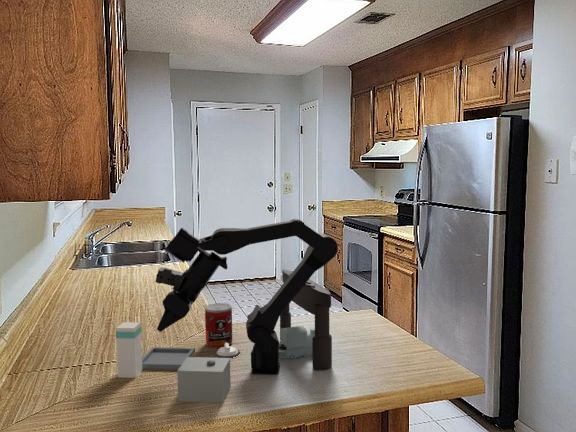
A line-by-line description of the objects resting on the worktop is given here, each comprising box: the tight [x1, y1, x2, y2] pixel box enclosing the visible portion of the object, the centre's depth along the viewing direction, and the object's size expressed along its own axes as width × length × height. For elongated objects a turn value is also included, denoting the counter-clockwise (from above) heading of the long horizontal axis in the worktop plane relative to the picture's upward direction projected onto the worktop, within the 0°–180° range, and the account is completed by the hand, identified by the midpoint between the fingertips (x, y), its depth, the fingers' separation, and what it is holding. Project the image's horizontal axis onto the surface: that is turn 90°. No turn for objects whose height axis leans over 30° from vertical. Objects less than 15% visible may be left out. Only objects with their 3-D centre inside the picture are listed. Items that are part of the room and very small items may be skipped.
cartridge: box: [115, 321, 144, 379], centre depth 127 cm, size 5×5×12 cm
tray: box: [142, 346, 196, 371], centre depth 136 cm, size 12×12×2 cm
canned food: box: [204, 302, 233, 348], centre depth 148 cm, size 8×8×11 cm
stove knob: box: [213, 343, 241, 359], centre depth 141 cm, size 7×7×3 cm
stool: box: [279, 269, 333, 371], centre depth 140 cm, size 16×21×33 cm
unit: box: [176, 356, 232, 404], centre depth 116 cm, size 10×8×8 cm
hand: (162, 325), depth 125 cm, fingers open, 9 cm apart
